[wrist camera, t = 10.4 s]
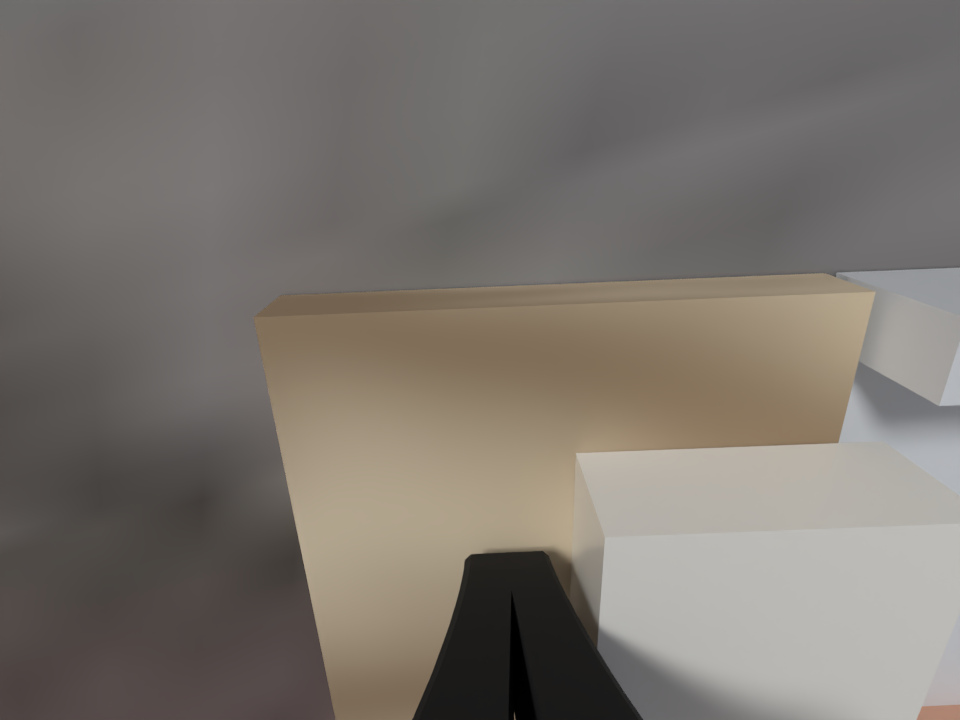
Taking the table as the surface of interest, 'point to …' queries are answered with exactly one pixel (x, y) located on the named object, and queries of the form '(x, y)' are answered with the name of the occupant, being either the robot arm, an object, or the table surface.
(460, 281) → the table surface
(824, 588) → the cream tile
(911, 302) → the grey tray
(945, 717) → the terracotta tile
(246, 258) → the table surface
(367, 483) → the oak board
